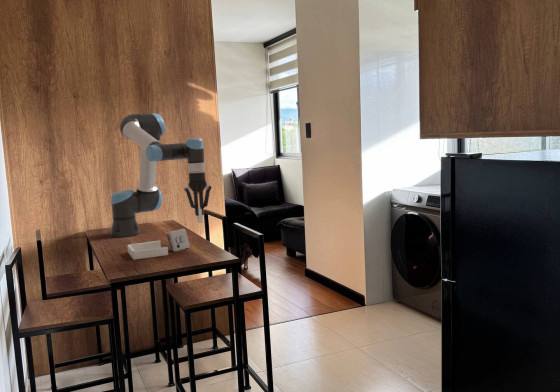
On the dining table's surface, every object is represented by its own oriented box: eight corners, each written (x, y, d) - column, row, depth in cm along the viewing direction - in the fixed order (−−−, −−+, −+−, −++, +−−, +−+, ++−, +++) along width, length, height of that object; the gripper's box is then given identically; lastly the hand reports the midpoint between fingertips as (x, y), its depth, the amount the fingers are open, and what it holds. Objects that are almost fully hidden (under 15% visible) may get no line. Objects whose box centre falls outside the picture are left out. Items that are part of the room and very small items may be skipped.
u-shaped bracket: (127, 252, 245) (127, 244, 244) (160, 247, 251) (160, 240, 250) (133, 259, 230) (133, 251, 230) (168, 254, 236) (167, 247, 236)
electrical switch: (174, 252, 241) (172, 232, 240) (167, 252, 244) (164, 232, 244) (190, 248, 248) (187, 228, 248) (183, 247, 252) (180, 228, 251)
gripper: (185, 173, 240) (188, 225, 243) (212, 171, 245) (216, 221, 248) (180, 172, 247) (184, 222, 250) (207, 170, 252) (211, 219, 255)
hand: (200, 222), depth 249 cm, fingers closed
